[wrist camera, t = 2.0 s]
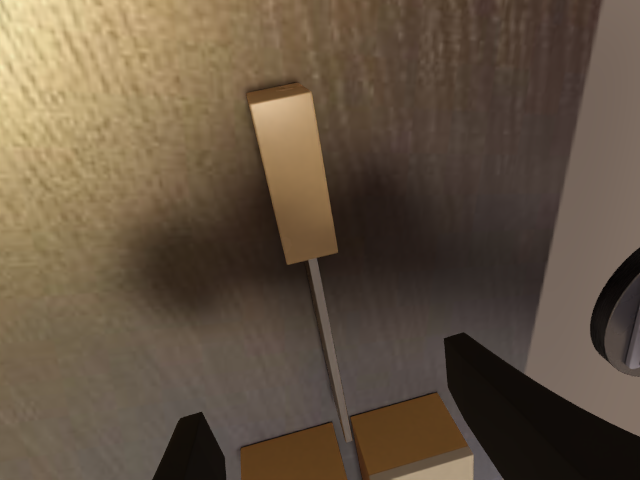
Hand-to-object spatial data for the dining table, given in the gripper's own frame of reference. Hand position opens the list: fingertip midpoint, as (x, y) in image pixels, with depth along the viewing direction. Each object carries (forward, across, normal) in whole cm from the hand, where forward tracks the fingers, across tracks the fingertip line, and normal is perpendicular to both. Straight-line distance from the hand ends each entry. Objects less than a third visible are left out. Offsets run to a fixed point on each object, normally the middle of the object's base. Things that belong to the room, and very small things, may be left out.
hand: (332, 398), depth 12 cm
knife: (+10, -1, +2) cm, 10 cm away
